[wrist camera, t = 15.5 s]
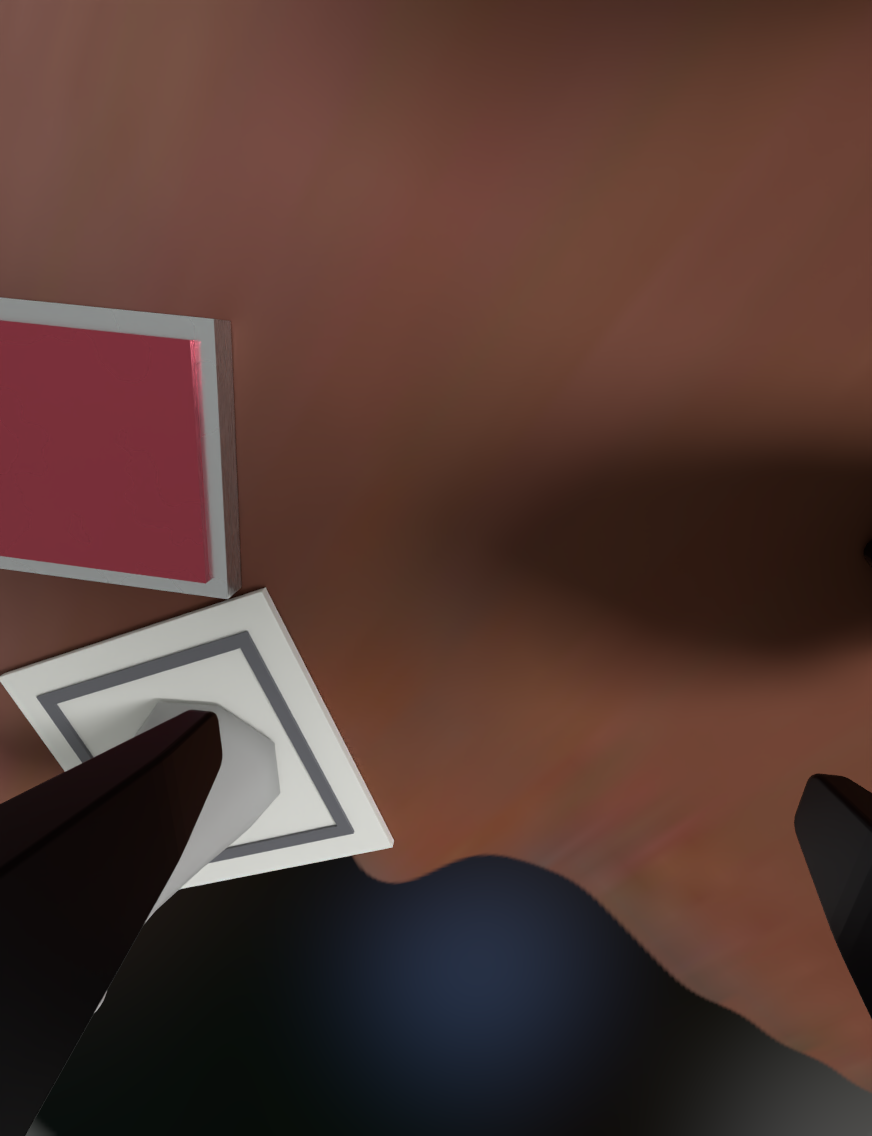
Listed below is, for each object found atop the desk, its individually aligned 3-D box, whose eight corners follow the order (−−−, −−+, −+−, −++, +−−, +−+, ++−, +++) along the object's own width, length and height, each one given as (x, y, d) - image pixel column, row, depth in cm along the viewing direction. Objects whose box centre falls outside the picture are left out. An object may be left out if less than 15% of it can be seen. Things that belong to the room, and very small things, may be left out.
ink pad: (230, 320, 19) (209, 318, 18) (241, 587, 23) (224, 602, 21) (-43, 293, 20) (-84, 288, 18) (11, 556, 23) (-20, 569, 22)
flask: (266, 841, 27) (146, 1093, 18) (126, 792, 27) (-69, 1022, 18) (300, 730, 25) (179, 959, 15) (144, 675, 24) (-74, 873, 15)
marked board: (265, 587, 23) (259, 592, 22) (394, 840, 27) (391, 849, 26) (4, 673, 26) (-6, 679, 25) (156, 887, 30) (151, 896, 30)
